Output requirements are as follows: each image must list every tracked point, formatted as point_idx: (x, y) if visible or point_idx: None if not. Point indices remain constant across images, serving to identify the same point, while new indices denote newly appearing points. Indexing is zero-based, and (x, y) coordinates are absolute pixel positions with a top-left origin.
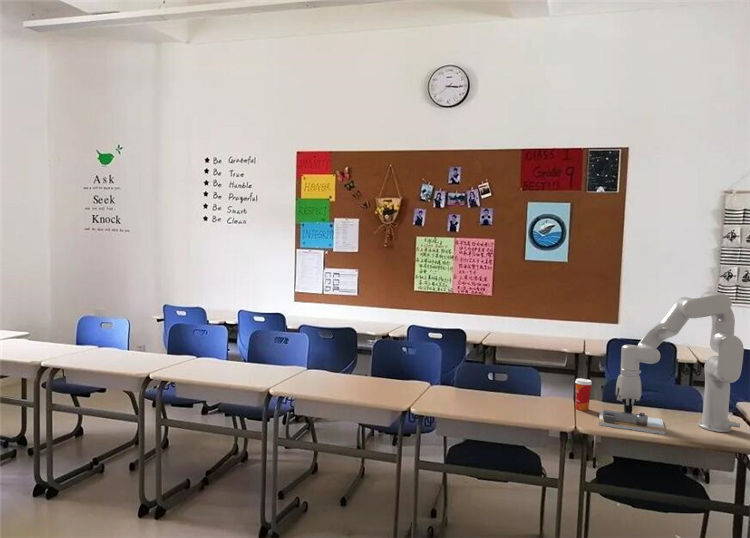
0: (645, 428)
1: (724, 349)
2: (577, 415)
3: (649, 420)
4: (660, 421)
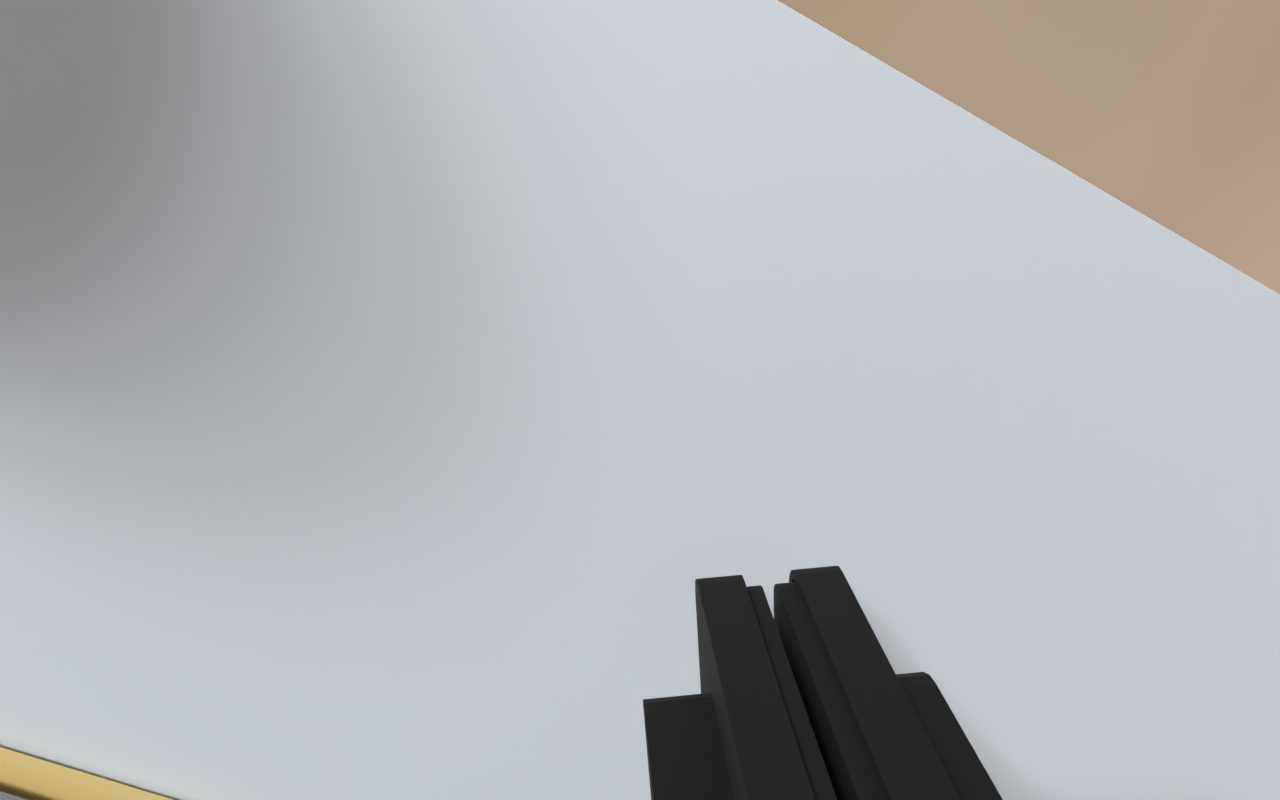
0: None
1: None
2: None
3: (1268, 718)
4: None
